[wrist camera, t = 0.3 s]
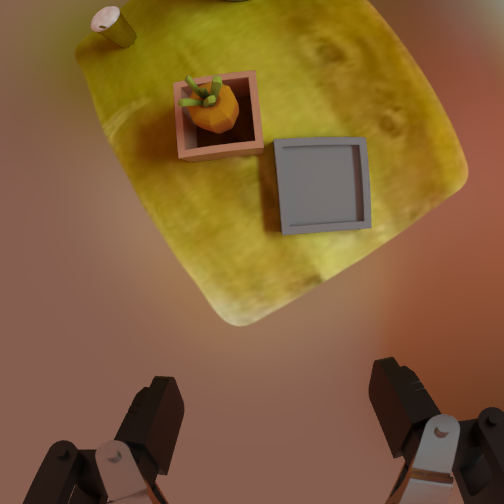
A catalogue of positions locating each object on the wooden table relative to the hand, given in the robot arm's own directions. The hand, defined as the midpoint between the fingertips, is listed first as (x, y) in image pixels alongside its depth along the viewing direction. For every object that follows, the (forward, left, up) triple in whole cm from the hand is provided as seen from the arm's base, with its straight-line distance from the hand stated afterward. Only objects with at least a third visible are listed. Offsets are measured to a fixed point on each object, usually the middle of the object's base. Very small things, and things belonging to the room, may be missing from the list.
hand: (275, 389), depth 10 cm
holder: (-16, -4, -28) cm, 32 cm away
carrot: (-16, -4, -28) cm, 32 cm away
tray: (-7, +8, -28) cm, 30 cm away
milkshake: (-34, -18, -28) cm, 47 cm away
